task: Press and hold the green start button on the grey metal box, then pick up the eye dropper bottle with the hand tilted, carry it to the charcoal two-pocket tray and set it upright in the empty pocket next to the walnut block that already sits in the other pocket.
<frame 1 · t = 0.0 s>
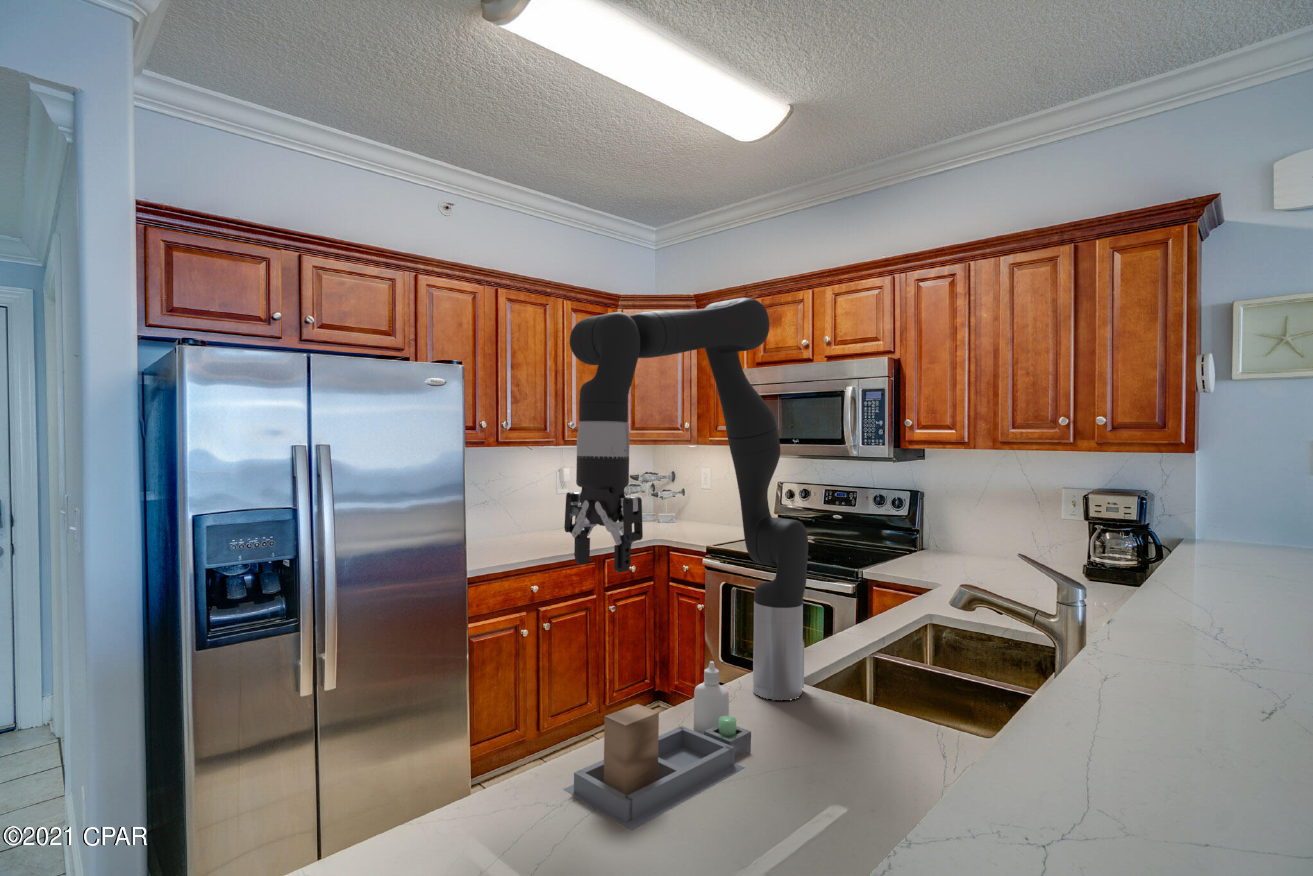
hand: (601, 567, 95), 29 cm above the worktop, tool pointing down, fingers open, 8 cm apart
eye dropper bottle: (710, 737, 107), on the worktop
start button: (727, 728, 100), point 4 cm above the worktop, slide at 0.0 cm
button box: (727, 758, 100), on the worktop
walnut block: (630, 791, 87), point 1 cm above the worktop, touching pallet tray
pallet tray: (657, 788, 91), on the worktop
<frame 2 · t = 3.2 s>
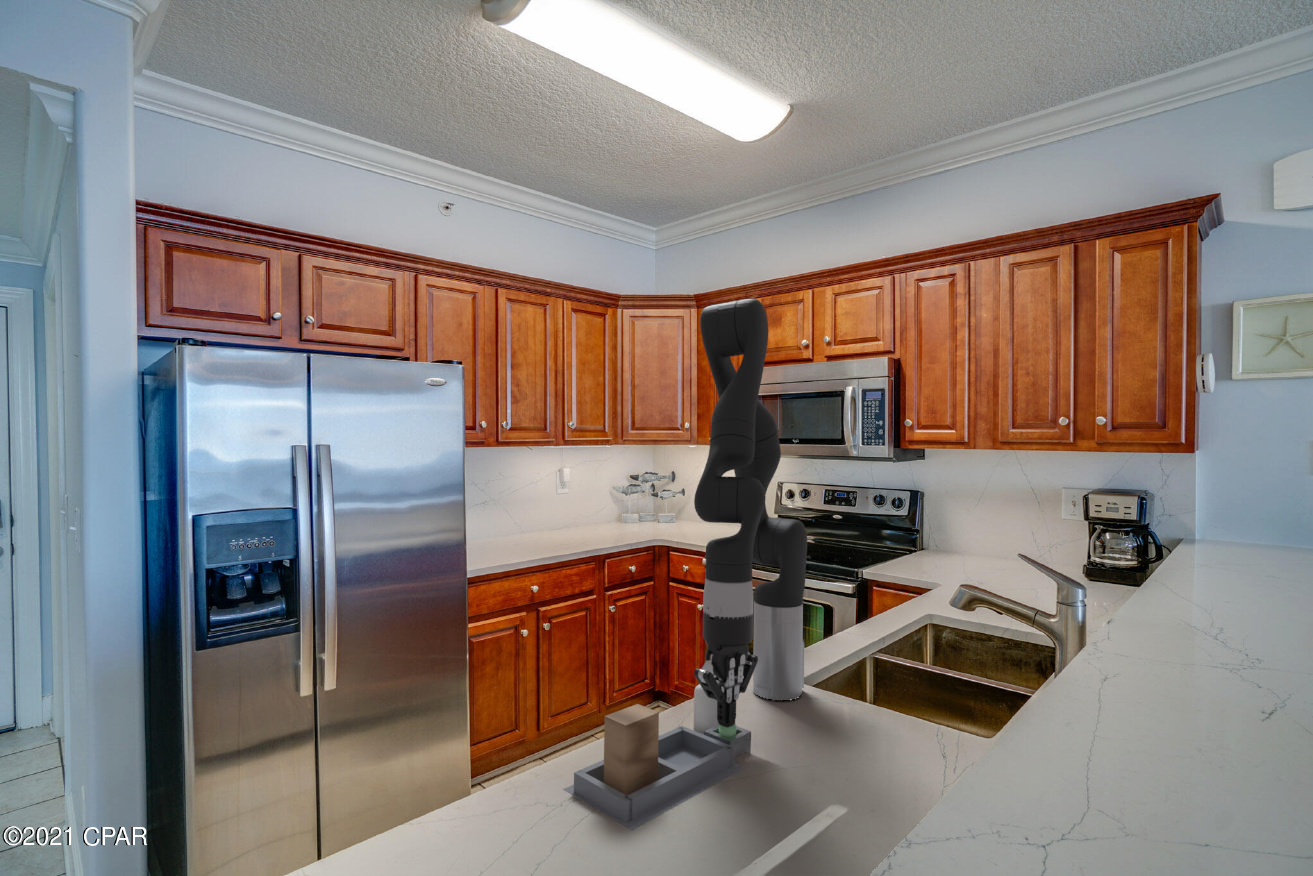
hand: (726, 724, 100), 5 cm above the worktop, tool pointing down, fingers closed
start button: (727, 734, 100), point 4 cm above the worktop, slide at 0.8 cm
everything else where it was.
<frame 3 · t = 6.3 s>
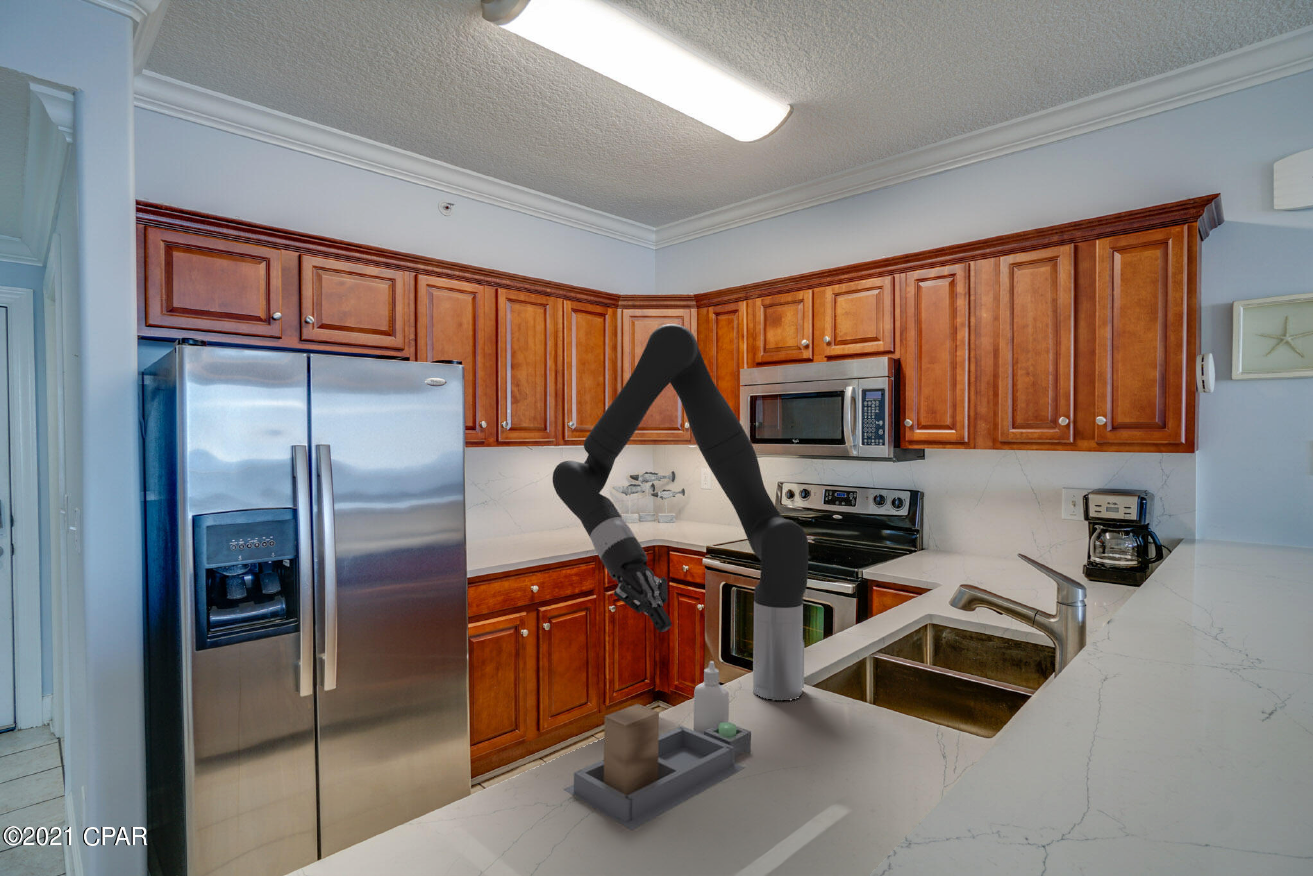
hand: (666, 628, 114), 15 cm above the worktop, tool tilted 45°, fingers closed
nothing on the worktop moved.
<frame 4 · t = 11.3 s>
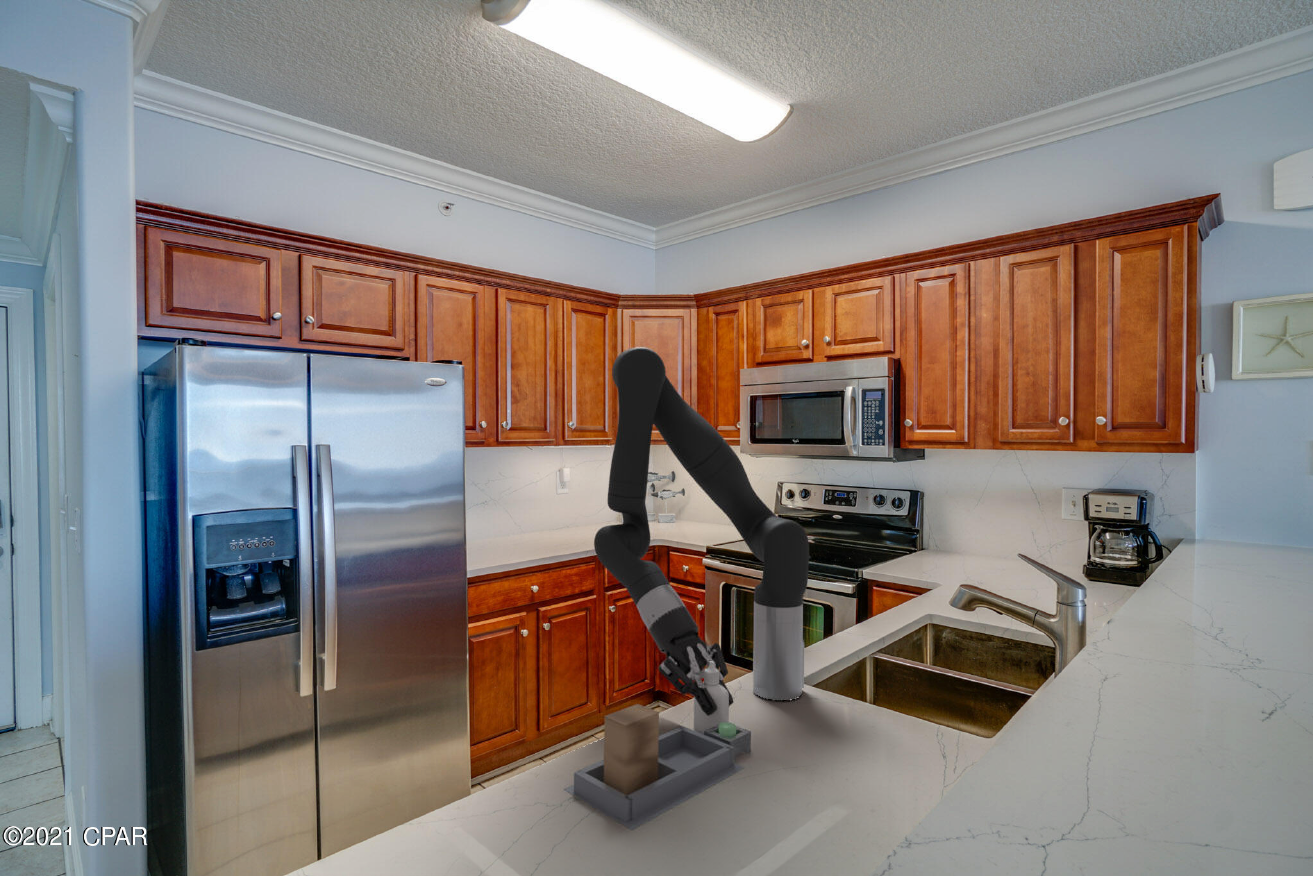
hand: (720, 708, 106), 5 cm above the worktop, tool tilted 45°, fingers closed on eye dropper bottle, 3 cm apart
eye dropper bottle: (710, 737, 107), on the worktop, touching gripper
everything else where it was.
when the fingers open (8 cm above the worktop, at t = 15.9 s): eye dropper bottle drops 1 cm, resting on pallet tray.
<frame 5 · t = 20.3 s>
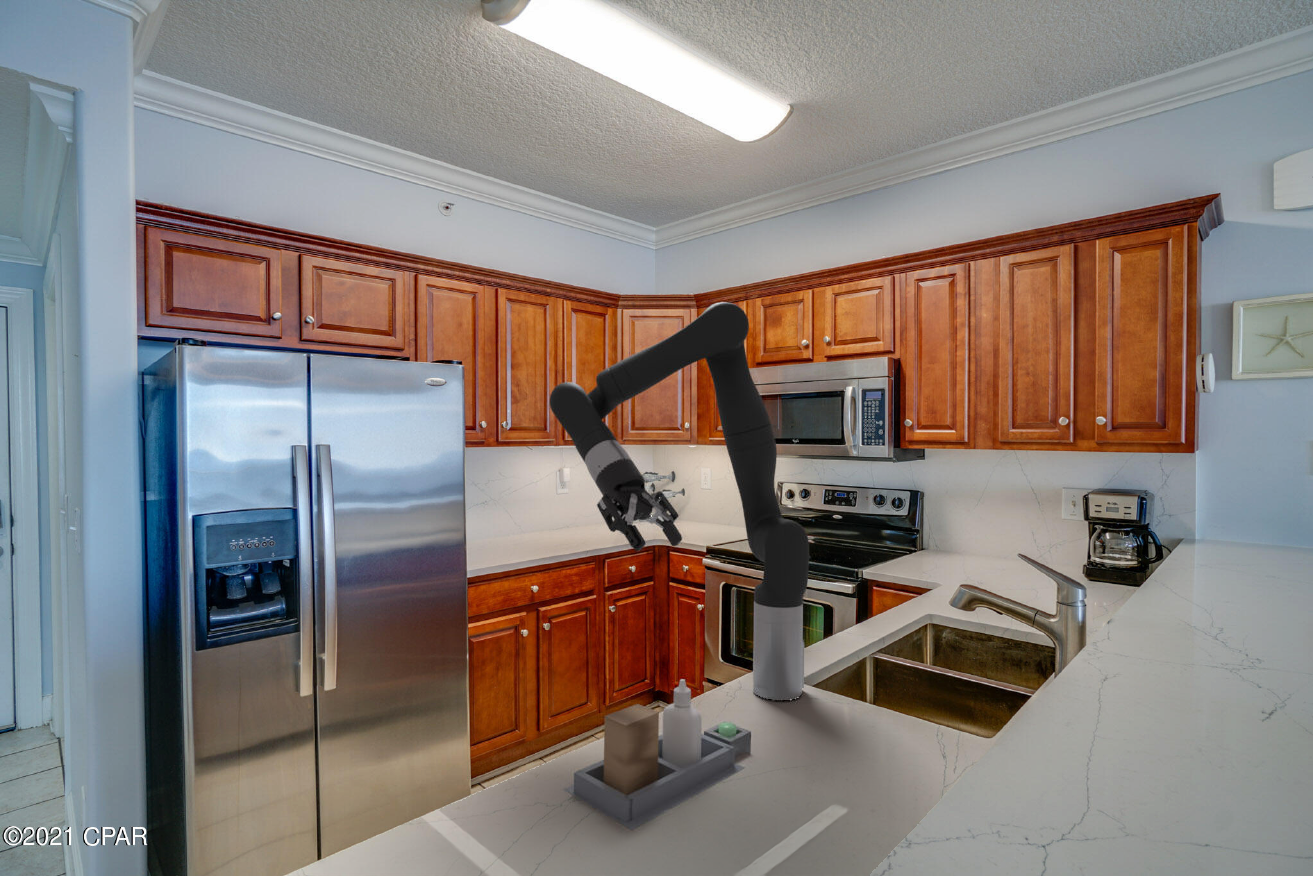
hand: (660, 545, 108), 31 cm above the worktop, tool tilted 45°, fingers open, 8 cm apart
eye dropper bottle: (681, 766, 94), point 1 cm above the worktop, touching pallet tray
everything else where it was.
at the end: eye dropper bottle inside the target area on the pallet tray (0.2 cm from its centre), point 1.3 cm above the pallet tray's base; eye dropper bottle tilted 0°; the gripper is holding nothing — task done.
